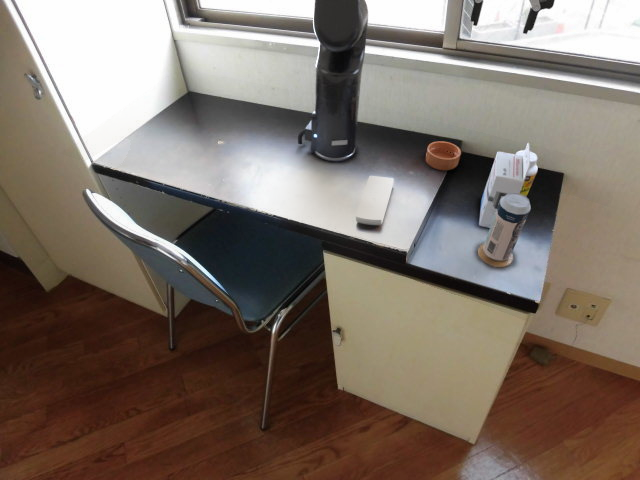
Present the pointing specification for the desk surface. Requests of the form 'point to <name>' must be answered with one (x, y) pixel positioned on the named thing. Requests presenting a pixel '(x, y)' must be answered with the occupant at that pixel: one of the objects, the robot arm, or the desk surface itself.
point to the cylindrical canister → (506, 226)
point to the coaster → (491, 261)
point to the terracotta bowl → (443, 155)
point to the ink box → (503, 182)
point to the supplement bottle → (529, 172)
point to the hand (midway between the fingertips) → (500, 28)
